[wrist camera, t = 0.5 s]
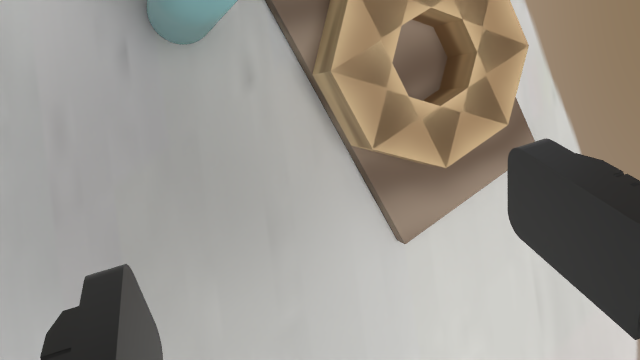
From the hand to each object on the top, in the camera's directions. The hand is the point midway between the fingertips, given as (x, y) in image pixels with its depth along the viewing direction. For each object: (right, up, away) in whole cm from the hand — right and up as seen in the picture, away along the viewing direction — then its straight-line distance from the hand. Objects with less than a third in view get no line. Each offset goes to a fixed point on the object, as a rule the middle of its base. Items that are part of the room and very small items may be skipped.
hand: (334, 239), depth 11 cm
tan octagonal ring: (+6, +9, +26) cm, 28 cm away
